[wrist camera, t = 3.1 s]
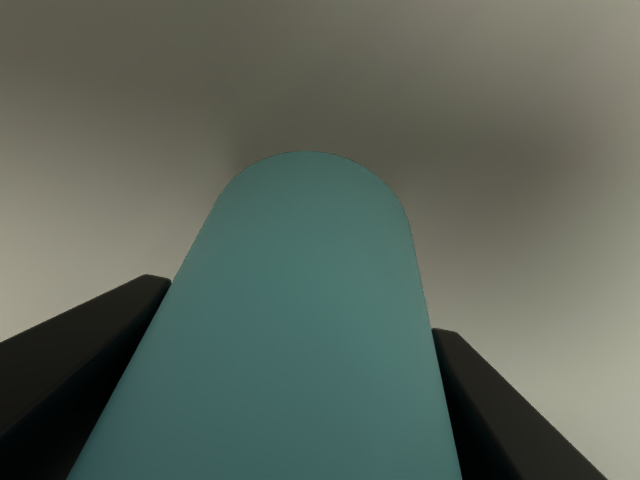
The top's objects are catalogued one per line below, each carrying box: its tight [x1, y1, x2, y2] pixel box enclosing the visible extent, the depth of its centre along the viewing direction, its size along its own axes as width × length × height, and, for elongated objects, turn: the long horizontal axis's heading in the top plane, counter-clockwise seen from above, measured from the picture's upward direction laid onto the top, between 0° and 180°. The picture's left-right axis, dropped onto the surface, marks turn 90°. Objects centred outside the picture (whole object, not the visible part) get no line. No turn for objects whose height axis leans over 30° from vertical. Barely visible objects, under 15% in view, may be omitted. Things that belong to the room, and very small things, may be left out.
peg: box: [66, 151, 462, 480], centre depth 8 cm, size 4×4×8 cm
